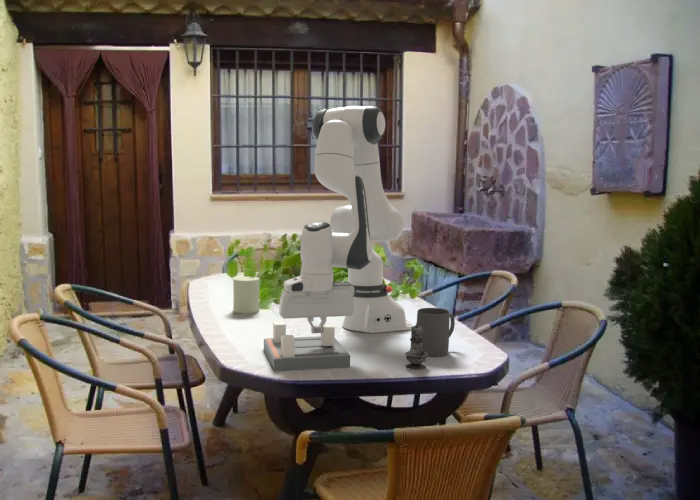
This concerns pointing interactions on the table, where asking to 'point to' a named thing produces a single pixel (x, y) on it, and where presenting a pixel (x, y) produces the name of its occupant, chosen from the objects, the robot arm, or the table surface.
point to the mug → (435, 330)
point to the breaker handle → (327, 335)
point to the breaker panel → (302, 351)
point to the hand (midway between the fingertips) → (316, 332)
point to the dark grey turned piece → (416, 350)
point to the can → (246, 295)
